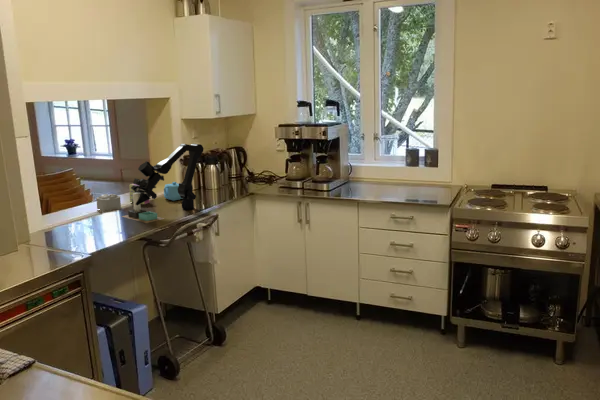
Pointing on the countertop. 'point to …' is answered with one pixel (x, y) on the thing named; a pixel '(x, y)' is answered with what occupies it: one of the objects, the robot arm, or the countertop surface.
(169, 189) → the teapot
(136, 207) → the plug
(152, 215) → the port
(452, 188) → the countertop surface
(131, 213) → the panel board
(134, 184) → the box
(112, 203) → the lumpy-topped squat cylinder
